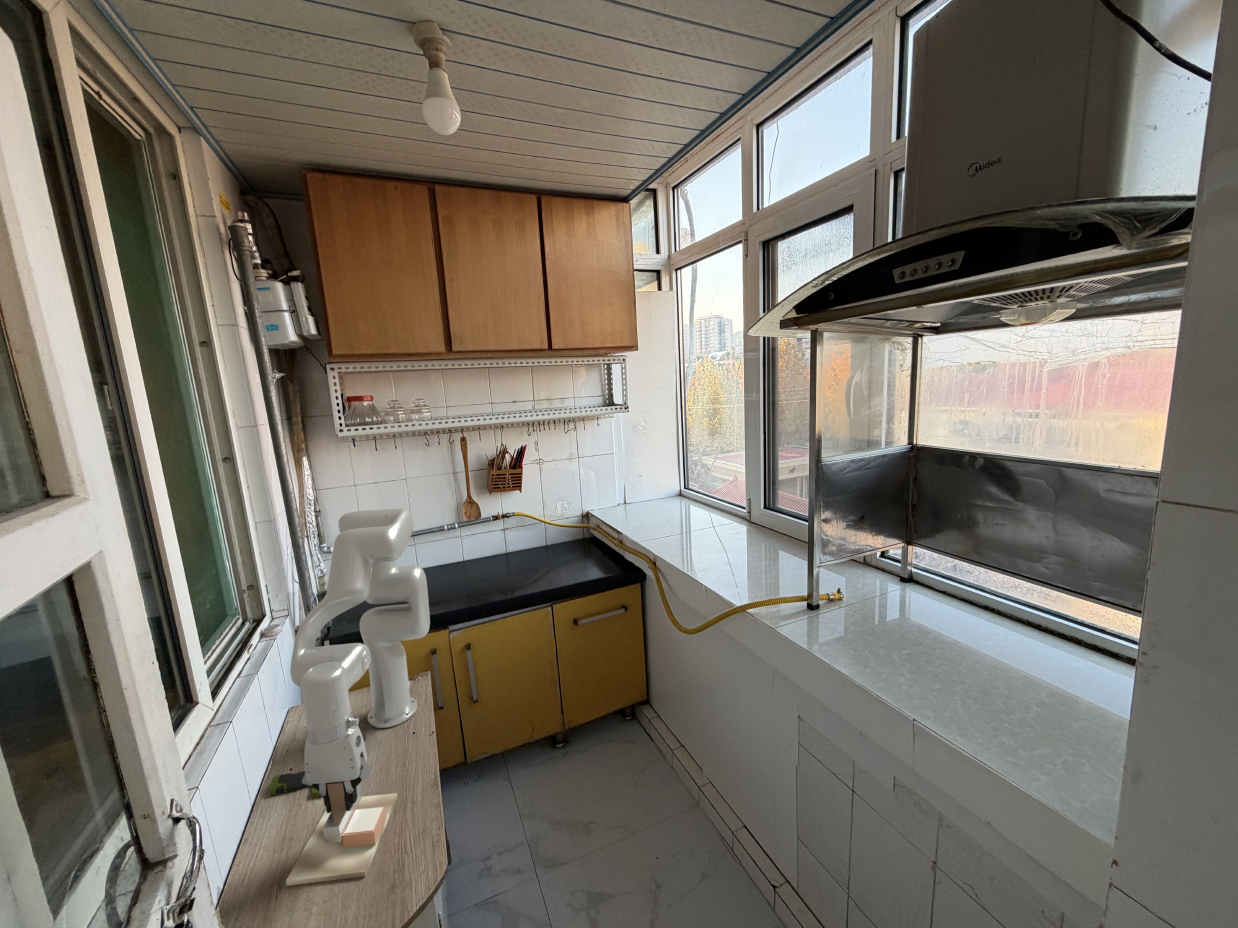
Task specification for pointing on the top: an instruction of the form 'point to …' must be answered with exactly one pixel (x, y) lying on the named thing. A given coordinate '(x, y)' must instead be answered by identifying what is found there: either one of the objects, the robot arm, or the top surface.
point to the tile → (364, 827)
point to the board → (337, 851)
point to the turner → (338, 812)
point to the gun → (292, 782)
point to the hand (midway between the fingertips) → (341, 805)
